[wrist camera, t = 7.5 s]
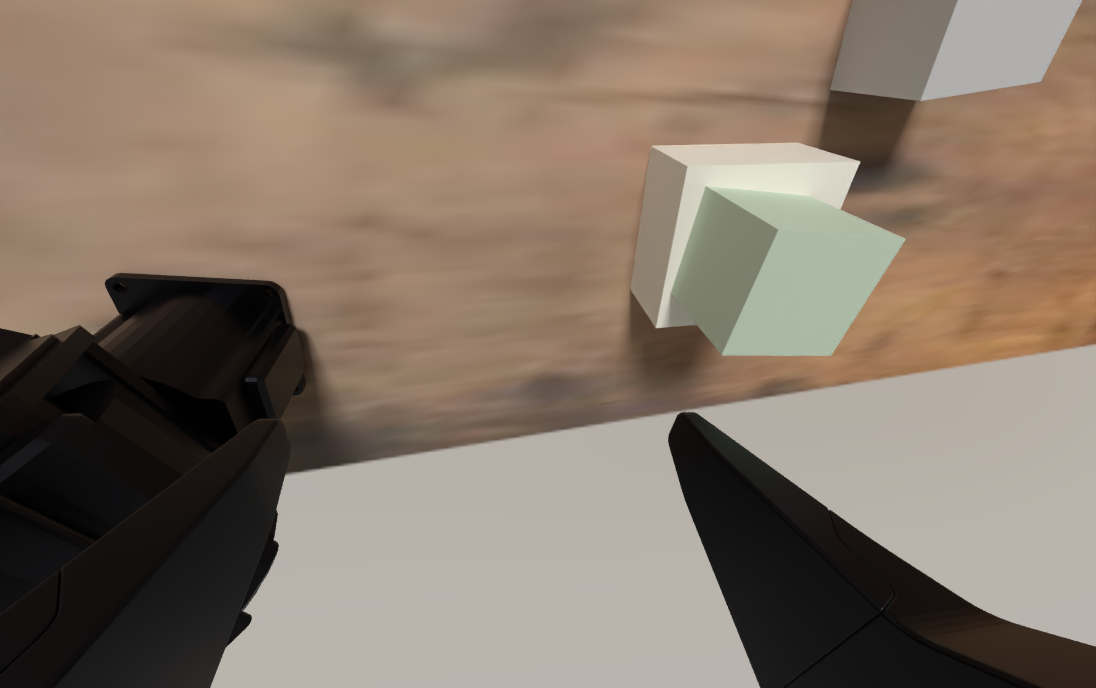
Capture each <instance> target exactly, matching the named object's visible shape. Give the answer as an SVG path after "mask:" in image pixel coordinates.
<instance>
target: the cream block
mask: <svg viewBox="0 0 1096 688" xmlns="http://www.w3.org/2000/svg"><path fill="white" fill-rule="evenodd" d="M859 164H860V161H857V160H854V159H850V158H847V157H844V156H840V155H837V154H834V153H830V152H827V151H824V150H820V149H817V148H814V147H810V146H807V145H804V144H800V143H765V144H716V145H668V146H651V148H650V155H649V162H648V169H647V176H646V183H645V190H644V197H643V204H642V211H641V219H640V226H639V233H638V240H637V247H636V254H635V261H634V268H633V275H632V282H631V289H630V290H631V291H632V293H633V294H634V296H635V297H636V299H637V300H638V302H639V303H640V305H641V306H642V308H643V309H644V311H645V312H646V314H647V316H648V317H649V319H650V320H651V322H652V323H653V325H654V326H655V328H664V327H677V326H689V325H697V324H696V323H695V322H694V321H693V320H692V318H691V317H690V316H689V315H688V313H687V312H686V311H685V310H684V308H683V307H682V306H681V305H680V304H679V302H678V301H677V300H676V299H675V297H674V296H673V295H672V294H671V290H672V287H673V284H674V281H675V278H676V275H677V272H678V269H679V266H680V263H681V260H682V257H683V254H684V251H685V248H686V245H687V242H688V239H689V236H690V233H691V230H692V227H693V224H694V221H695V218H696V215H697V212H698V209H699V206H700V202H701V199H702V196H703V193H704V190H705V187H706V186H710V187H721V188H732V189H742V190H753V191H764V192H775V193H785V194H796V195H807V196H811V197H813V198H815V199H818V200H820V201H822V202H824V203H827V204H829V205H831V206H833V207H835V208H838V209H841V206H842V204H843V202H844V199H845V197H846V195H847V192H848V190H849V187H850V185H851V183H852V180H853V178H854V176H855V173H856V171H857V169H858V166H859Z"/></svg>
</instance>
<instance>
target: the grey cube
mask: <svg viewBox="0 0 1096 688" xmlns="http://www.w3.org/2000/svg"><path fill="white" fill-rule="evenodd" d="M1081 2H1082V0H852V4H851V8H850V12H849V16H848V20H847V24H846V28H845V32H844V36H843V40H842V44H841V48H840V52H839V56H838V60H837V64H836V68H835V72H834V76H833V79H832V83H831V87H830V90H836V91H844V92H852V93H860V94H868V95H876V96H884V97H892V98H900V99H908V100H916V101H924V100H930V99H936V98H942V97H948V96H955V95H961V94H967V93H973V92H980V91H986V90H992V89H998V88H1005V87H1011V86H1017V85H1023V84H1030V83H1036V82H1041V80H1042V78H1043V76H1044V74H1045V72H1046V70H1047V68H1048V66H1049V64H1050V62H1051V60H1052V58H1053V56H1054V54H1055V52H1056V51H1057V49H1058V47H1059V45H1060V43H1061V41H1062V39H1063V37H1064V35H1065V33H1066V31H1067V29H1068V27H1069V25H1070V23H1071V21H1072V19H1073V17H1074V15H1075V13H1076V11H1077V9H1078V7H1079V6H1080V4H1081Z"/></svg>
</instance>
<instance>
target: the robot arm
mask: <svg viewBox="0 0 1096 688" xmlns="http://www.w3.org/2000/svg"><path fill="white" fill-rule="evenodd" d="M119 283H121V284H123V285H125V286H126V287H127V288H128V289H126V288H124V287H122V286H121V285H120V284H119ZM105 286H106V289H107V291H108V293H109V295H110V296H111V298H112V300H113V302H114V304H115V306H116V308H117V310H118V312H119V314H120V315H119V316H117V317H116V318H115V319H113V320H112V321H111V322H109V323H108V324H107V325H106V326H104V327H103V328H102V329H100V330H99V331H98V332H96V333H95V334H94V335H92V334H90V333H89V332H88V331H87V330H85V329H84V328H83V327H81V326H80V325H79V326H76V327H73V328H70V329H68V330H65V331H63V332H60V333H57V334H55V335H53V334H50V335H46V336H43V337H40V336H39V335H37V334H35V335H28V334H24V333H19V332H15V331H10V330H5V329H1V328H0V688H210V687H211V683H212V681H213V678H214V676H215V674H216V671H217V668H218V666H219V663H220V661H221V658H222V655H223V653H224V650H225V648H226V647H227V646H228V645H229V644H230V643H231V642H232V641H233V640H234V639H235V638H236V637H237V636H238V635H239V634H240V633H241V632H242V631H243V630H245V628H246V627H247V626H248V625H249V624H250V622H251V619H252V617H251V615H250V614H248V613H246V612H243V610H244V609H245V608H246V606H247V605H248V604H249V602H250V601H251V599H252V598H253V597H254V595H255V594H256V592H257V590H258V589H259V587H260V585H261V583H262V582H263V580H264V579H265V577H266V576H267V574H268V572H269V570H270V568H271V566H272V564H273V561H274V559H275V557H276V555H277V551H278V547H279V545H278V543H277V542H276V541H274V540H273V539H274V536H275V529H276V523H277V515H278V513H277V510H276V508H277V504H278V500H279V496H280V492H281V489H282V485H283V481H284V477H285V473H286V469H287V465H288V461H289V457H290V444H289V441H288V437H287V434H286V430H285V427H284V424H283V422H282V420H280V418H281V416H282V414H283V412H284V411H285V409H286V407H287V405H288V403H289V401H290V399H291V397H292V395H299V394H301V393H302V392H303V390H304V388H305V384H306V383H305V379H304V375H303V373H304V371H305V369H306V364H305V360H304V356H303V352H302V348H301V343H300V339H299V335H298V331H297V328H296V327H295V326H294V325H293V324H291V322H290V318H289V314H288V310H287V306H286V302H285V298H284V294H283V291H282V289H281V287H280V286H279V285H278V284H276V283H274V282H271V281H261V280H242V279H223V278H205V277H186V276H167V275H148V274H129V273H118V274H115V275H113V276H112V277H110V278H109V279H107V280H106V282H105ZM264 290H268V291H270V292H272V293H273V295H274V296H271V295H268V294H266V293H265V291H264ZM668 442H669V447H670V450H671V454H672V457H673V461H674V464H675V468H676V471H677V475H678V478H679V482H680V485H681V489H682V492H683V495H684V498H685V501H686V504H687V506H688V509H689V511H690V514H691V516H692V519H693V522H694V524H695V526H696V529H697V531H698V534H699V536H700V539H701V541H702V544H703V546H704V549H705V551H706V554H707V556H708V559H709V561H710V564H711V566H712V569H713V571H714V574H715V576H716V579H717V581H718V584H719V586H720V589H721V591H722V594H723V596H724V598H725V601H726V604H727V606H728V609H729V611H730V614H731V616H732V619H733V621H734V623H735V626H736V628H737V631H738V634H739V636H740V639H741V641H742V643H743V646H744V648H745V651H746V653H747V656H748V658H749V661H750V663H751V666H752V668H753V670H754V673H755V676H756V678H757V681H758V683H759V686H760V688H1096V647H1095V646H1091V645H1088V644H1085V643H1081V642H1078V641H1074V640H1071V639H1067V638H1063V637H1060V636H1056V635H1053V634H1049V633H1046V632H1042V631H1039V630H1035V629H1031V628H1028V627H1025V626H1021V625H1018V624H1015V623H1012V622H1009V621H1007V620H1004V619H1001V618H999V617H996V616H994V615H992V614H990V613H988V612H986V611H983V610H982V609H980V608H978V607H976V606H974V605H972V604H971V603H969V602H968V601H966V600H964V599H963V598H961V597H960V596H958V595H956V594H955V593H953V592H952V591H950V590H949V589H947V588H946V587H944V586H943V585H941V584H940V583H938V582H936V581H935V580H933V579H932V578H930V577H929V576H927V575H926V574H924V573H922V572H921V571H919V570H918V569H916V568H915V567H913V566H911V565H910V564H909V563H907V562H905V561H904V560H902V559H901V558H899V557H897V556H896V555H895V554H893V553H892V552H890V551H888V550H887V549H886V548H884V547H882V546H881V545H880V544H878V543H876V542H875V541H873V540H872V539H871V538H869V537H868V536H866V535H865V534H863V533H862V532H860V531H859V530H857V529H856V528H855V527H853V526H852V525H851V524H849V523H848V522H846V521H845V520H844V519H842V518H841V517H839V516H838V515H837V514H835V513H834V512H833V511H831V510H828V508H827V507H826V506H824V505H823V504H821V503H820V502H819V501H817V500H816V499H814V498H813V497H812V496H810V495H809V494H808V493H806V492H805V491H803V490H802V489H801V488H799V487H798V486H797V485H795V484H794V483H792V482H791V481H790V480H788V479H787V478H785V477H784V476H783V475H781V474H780V473H778V472H777V471H776V470H774V469H773V468H772V467H770V466H769V465H767V464H766V463H765V462H763V461H762V460H761V459H759V458H758V457H756V456H755V455H754V454H752V453H751V452H749V451H748V450H747V449H745V448H744V447H743V446H741V445H740V444H739V443H737V442H736V441H734V440H733V439H732V438H730V437H729V436H727V435H726V434H725V433H723V432H722V431H720V430H719V429H718V428H716V427H715V426H714V425H712V424H711V423H709V422H708V421H707V420H705V419H704V418H703V417H701V416H700V415H698V414H697V413H694V412H682V413H680V414H678V415H677V417H676V420H675V422H674V424H673V426H672V429H671V431H670V433H669V437H668Z"/></svg>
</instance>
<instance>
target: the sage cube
mask: <svg viewBox="0 0 1096 688" xmlns="http://www.w3.org/2000/svg"><path fill="white" fill-rule="evenodd" d="M905 240H906V239H905V238H903V237H900V236H898V235H896V234H894V233H891V232H889V231H887V230H885V229H882V228H880V227H878V226H876V225H873V224H871V223H869V222H867V221H865V220H862V219H860V218H858V217H856V216H853V215H851V214H849V213H847V212H844V211H842V210H840V209H838V208H835V207H833V206H831V205H829V204H827V203H824V202H822V201H820V200H818V199H815V198H813V197H811V196H807V195H796V194H785V193H775V192H764V191H753V190H742V189H732V188H721V187H710V186H706V187H705V190H704V193H703V196H702V199H701V202H700V206H699V209H698V212H697V215H696V218H695V221H694V224H693V227H692V230H691V233H690V236H689V239H688V242H687V245H686V248H685V251H684V254H683V257H682V260H681V263H680V266H679V269H678V272H677V275H676V278H675V281H674V284H673V287H672V290H671V294H672V295H673V296H674V297H675V299H676V300H677V301H678V302H679V304H680V305H681V306H682V307H683V308H684V310H685V311H686V312H687V313H688V315H689V316H690V317H691V318H692V320H693V321H694V322H695V323H696V324H697V326H698V327H699V328H700V329H701V331H702V332H703V333H704V334H705V336H706V337H707V338H708V339H709V340H710V342H711V343H712V344H713V345H714V347H715V348H716V349H717V350H718V351H719V353H720V354H721V355H780V356H831V355H832V353H833V352H834V350H835V348H836V347H837V345H838V344H839V342H840V341H841V339H842V338H843V336H844V334H845V333H846V331H847V330H848V328H849V327H850V325H851V324H852V322H853V320H854V319H855V317H856V316H857V314H858V313H859V311H860V310H861V308H862V306H863V305H864V303H865V302H866V300H867V299H868V297H869V296H870V294H871V292H872V291H873V289H874V288H875V286H876V285H877V283H878V282H879V280H880V278H881V277H882V275H883V274H884V272H885V271H886V269H887V268H888V266H889V264H890V263H891V261H892V260H893V258H894V257H895V255H896V254H897V252H898V250H899V249H900V247H901V246H902V244H903V243H904V241H905Z"/></svg>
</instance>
